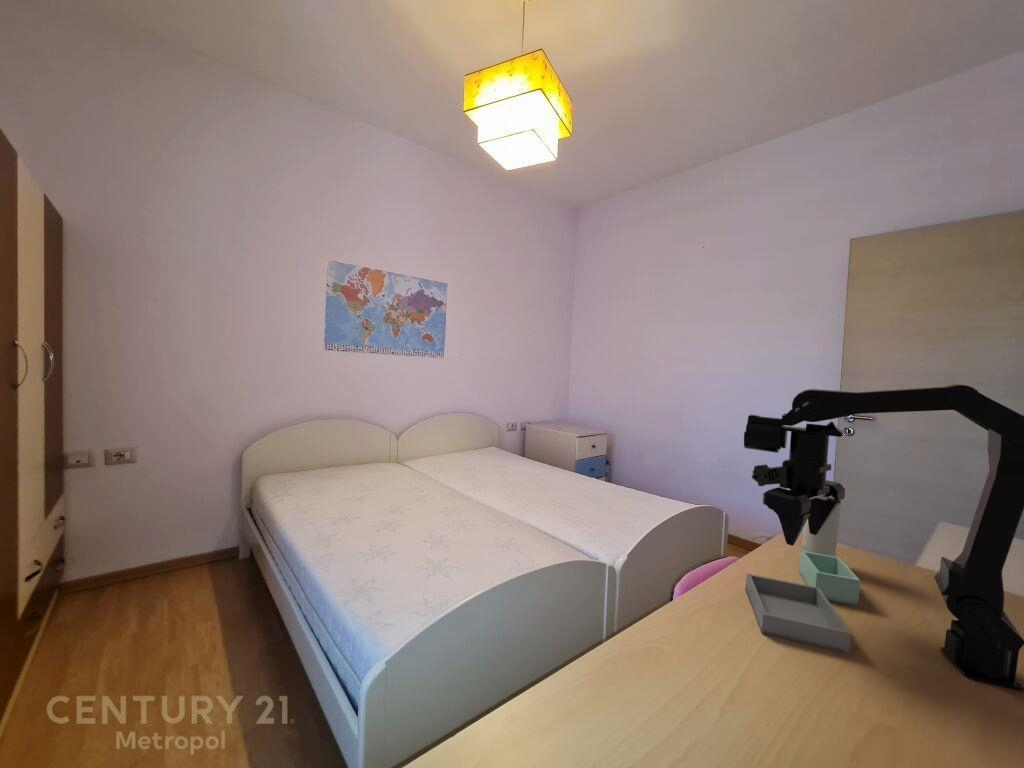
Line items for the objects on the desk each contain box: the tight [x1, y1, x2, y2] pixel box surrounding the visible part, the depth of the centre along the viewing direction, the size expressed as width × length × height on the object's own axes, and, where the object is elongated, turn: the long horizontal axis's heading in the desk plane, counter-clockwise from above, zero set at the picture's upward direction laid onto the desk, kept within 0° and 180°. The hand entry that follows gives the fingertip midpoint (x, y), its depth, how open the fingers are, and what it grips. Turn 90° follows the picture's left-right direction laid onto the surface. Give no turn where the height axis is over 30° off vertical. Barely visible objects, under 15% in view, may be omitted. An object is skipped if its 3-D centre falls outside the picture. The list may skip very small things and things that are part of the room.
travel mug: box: [801, 496, 842, 557], centre depth 94 cm, size 6×7×20 cm
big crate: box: [744, 573, 852, 655], centre depth 74 cm, size 12×14×3 cm
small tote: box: [798, 550, 861, 606], centre depth 84 cm, size 10×7×5 cm
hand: (801, 539), depth 76 cm, fingers open, 9 cm apart
